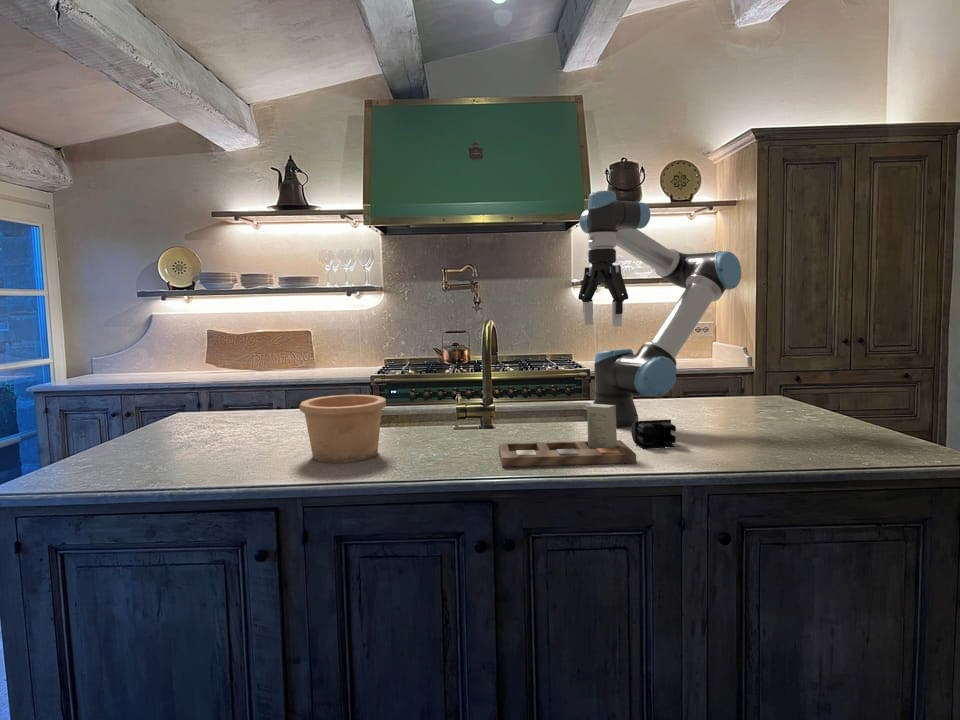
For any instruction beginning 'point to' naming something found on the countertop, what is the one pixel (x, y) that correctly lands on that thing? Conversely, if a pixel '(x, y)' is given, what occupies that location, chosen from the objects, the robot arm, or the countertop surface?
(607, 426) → the skincare box
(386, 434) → the countertop surface
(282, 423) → the countertop surface
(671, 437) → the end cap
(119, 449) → the countertop surface
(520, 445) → the socket plate
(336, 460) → the pottery
